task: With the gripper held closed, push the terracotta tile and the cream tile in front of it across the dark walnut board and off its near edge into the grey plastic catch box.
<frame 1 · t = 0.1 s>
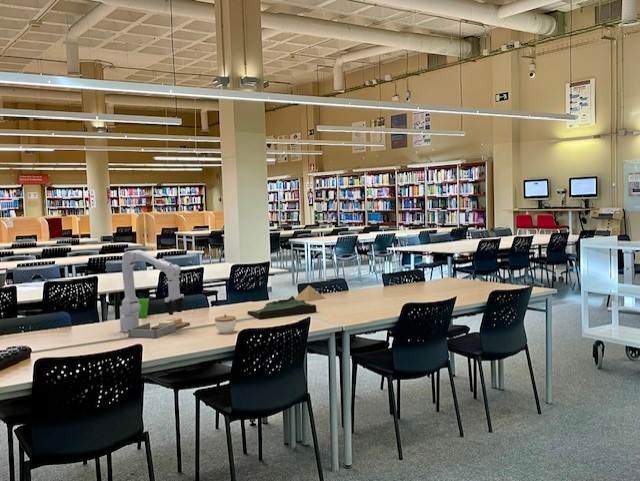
hand: (175, 313, 316), 10 cm above the table, fingers open, 7 cm apart
topographic model: (281, 314, 360), on the table
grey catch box: (153, 333, 315), on the table
walnut board: (170, 327, 330), on the table
model pyramid: (309, 299, 412), on the table
cup: (142, 318, 366), on the table
lidded jar: (226, 332, 311), on the table
terracotta tile: (174, 323, 333), point 1 cm above the table, touching walnut board
cream tile: (166, 326, 327), point 1 cm above the table, touching walnut board
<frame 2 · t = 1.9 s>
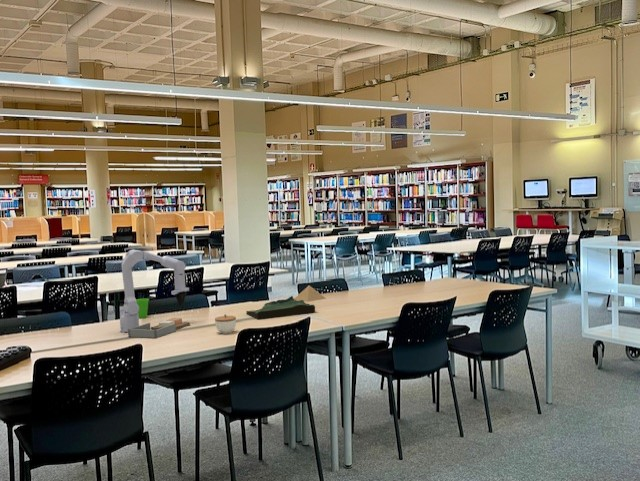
hand: (181, 305, 340), 10 cm above the table, fingers closed
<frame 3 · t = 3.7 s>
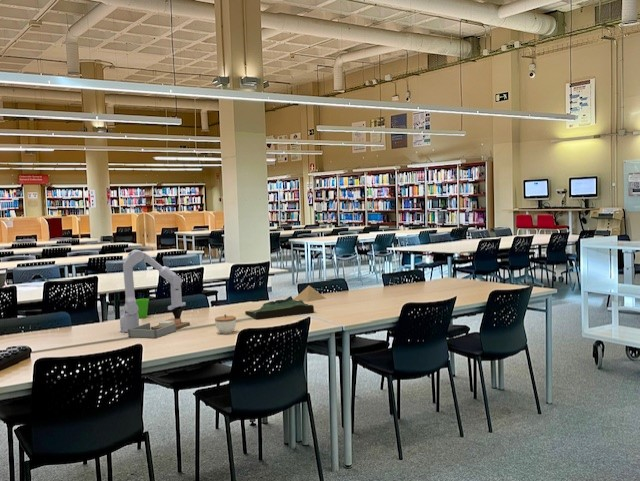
hand: (177, 320, 336), 3 cm above the table, fingers closed
terracotta tile: (173, 323, 333), point 2 cm above the table
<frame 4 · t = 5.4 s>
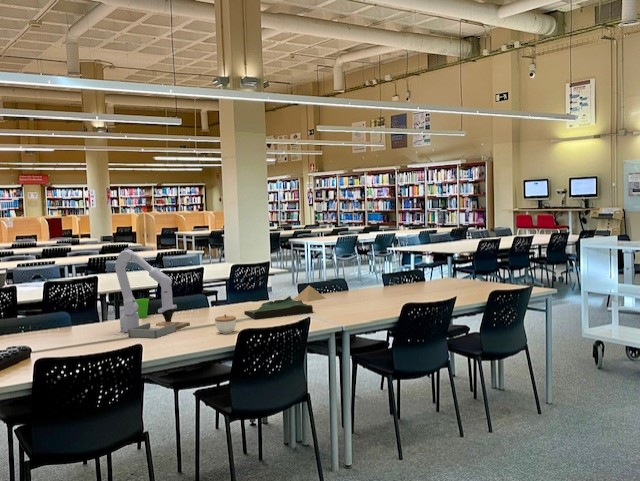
hand: (168, 323, 328), 3 cm above the table, fingers closed
terracotta tile: (164, 327, 324), point 2 cm above the table, touching cream tile, gripper, walnut board
cream tile: (157, 331, 319), resting on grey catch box, touching terracotta tile
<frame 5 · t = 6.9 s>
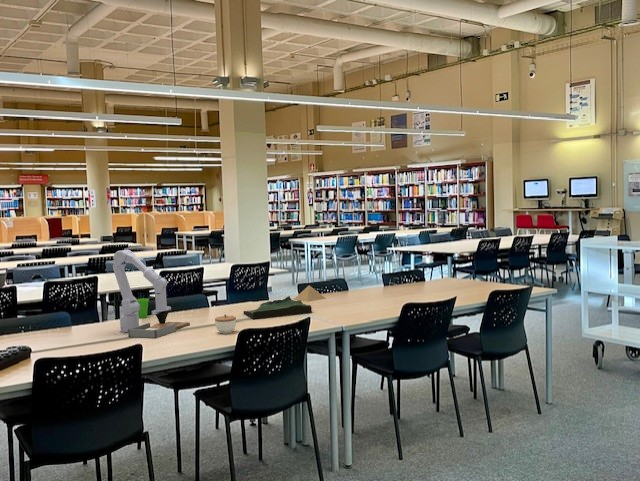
hand: (162, 325, 323), 3 cm above the table, fingers closed
terracotta tile: (158, 329, 320), point 1 cm above the table, tilted 7°, touching cream tile, gripper
cream tile: (151, 333, 314), resting on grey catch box, touching terracotta tile
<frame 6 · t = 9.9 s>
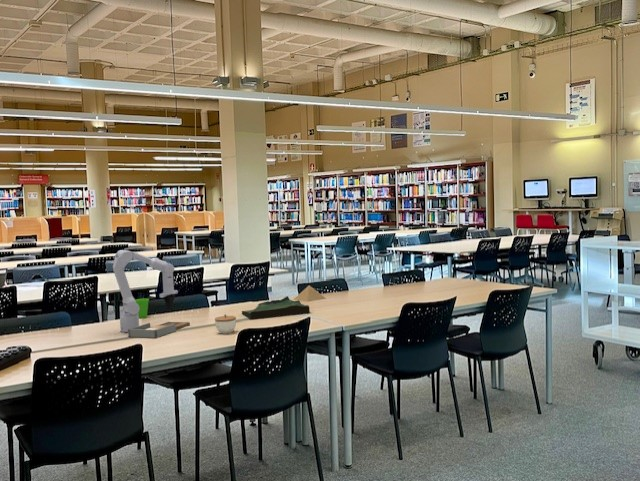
hand: (169, 308, 338), 9 cm above the table, fingers closed
topographic model: (275, 314, 360), on the table
terracotta tile: (158, 331, 320), resting on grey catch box
cream tile: (151, 333, 314), resting on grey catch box
everything else where it was.
at the end: terracotta tile inside the target area on the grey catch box (5.2 cm from its centre), point 0.3 cm above the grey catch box's base; cream tile inside the target area on the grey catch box (1.2 cm from its centre), point 0.3 cm above the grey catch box's base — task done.
